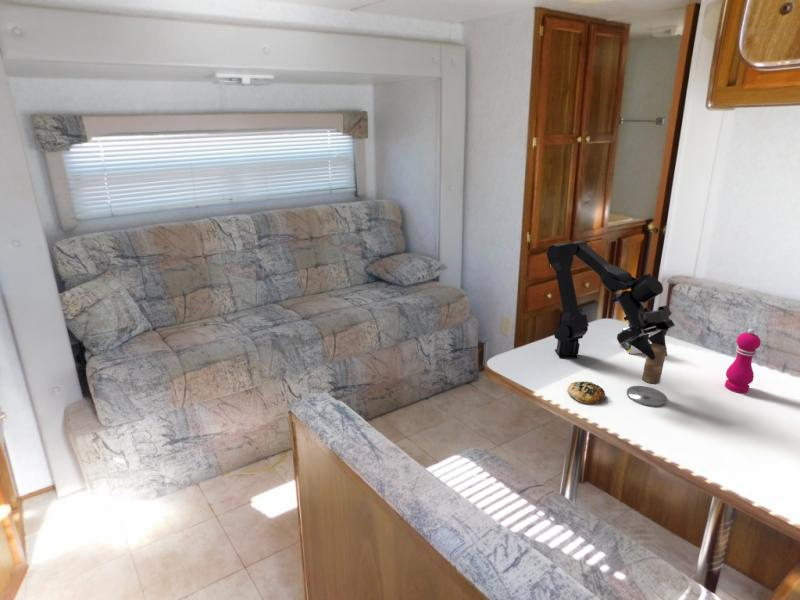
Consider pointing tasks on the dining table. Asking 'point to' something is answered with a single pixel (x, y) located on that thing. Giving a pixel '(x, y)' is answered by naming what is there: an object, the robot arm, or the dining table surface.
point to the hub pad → (646, 396)
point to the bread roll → (586, 392)
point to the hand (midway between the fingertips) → (659, 357)
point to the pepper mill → (742, 363)
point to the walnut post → (654, 364)
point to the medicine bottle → (629, 347)
